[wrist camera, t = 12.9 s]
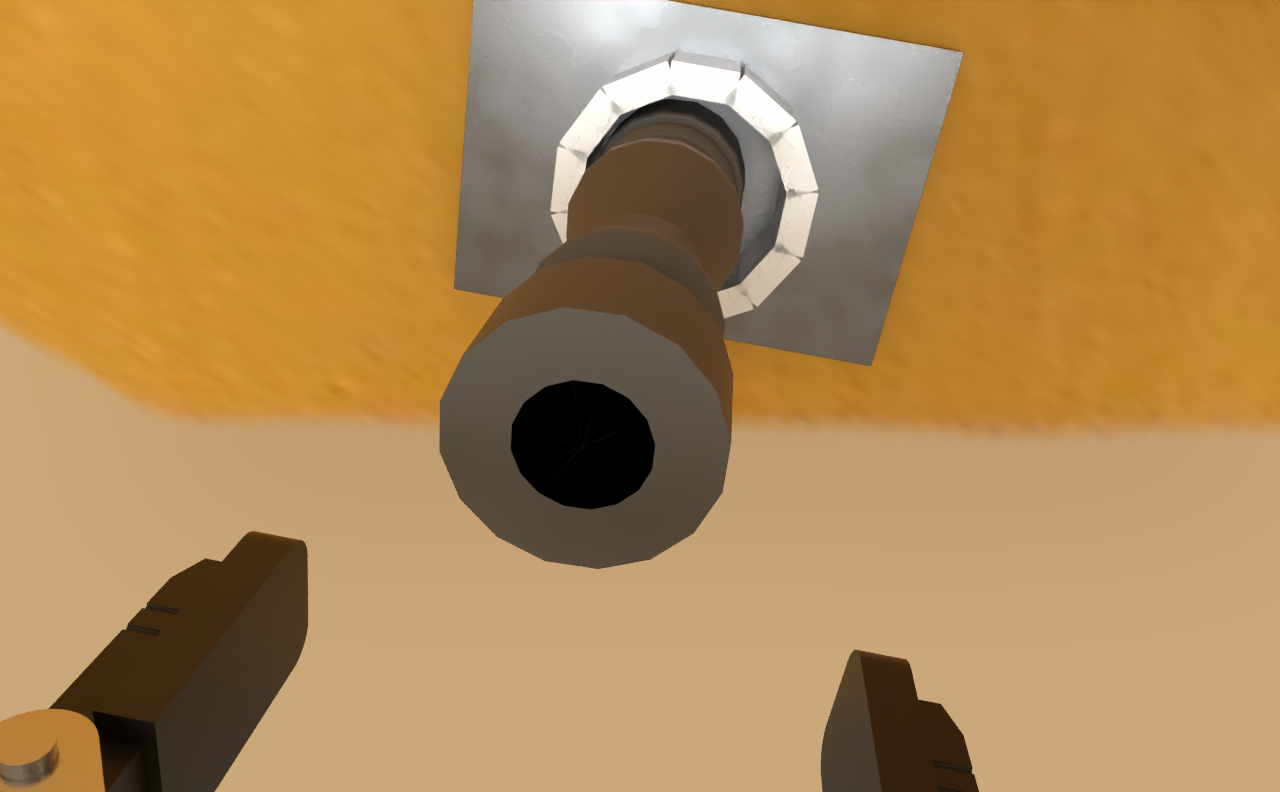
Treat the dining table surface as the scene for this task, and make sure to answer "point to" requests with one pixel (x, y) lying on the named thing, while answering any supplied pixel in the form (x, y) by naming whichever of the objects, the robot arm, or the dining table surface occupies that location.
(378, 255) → the dining table surface
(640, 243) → the candle holder
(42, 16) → the dining table surface
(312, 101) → the dining table surface
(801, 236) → the steel collar
